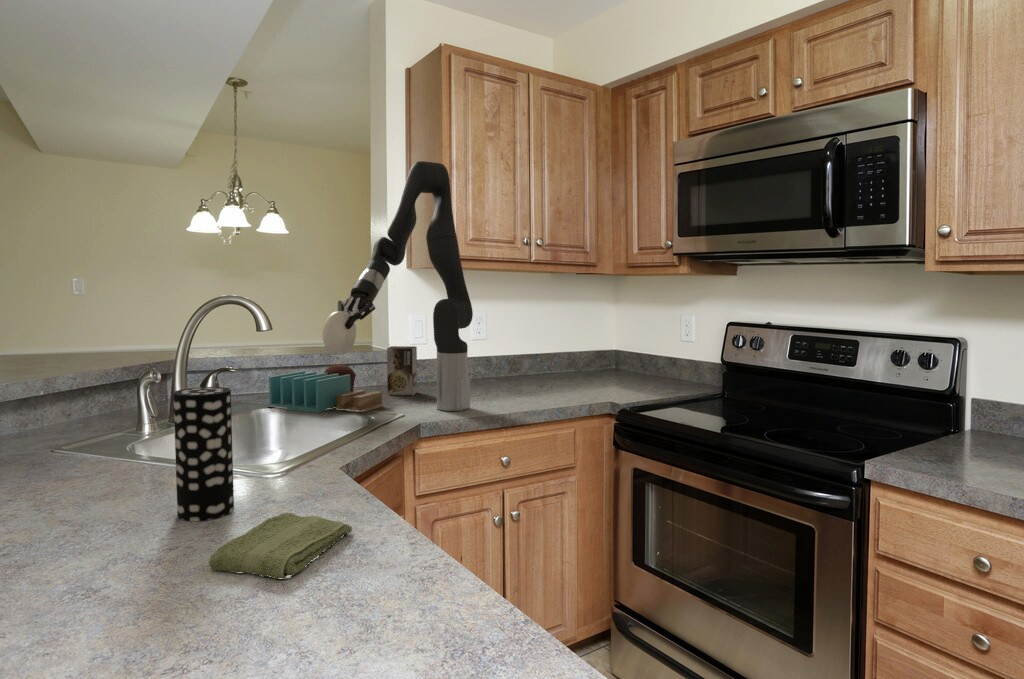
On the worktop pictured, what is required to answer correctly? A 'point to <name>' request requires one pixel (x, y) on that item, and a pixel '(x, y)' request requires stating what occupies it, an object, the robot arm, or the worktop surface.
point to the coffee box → (402, 370)
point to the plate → (338, 333)
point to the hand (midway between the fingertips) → (343, 327)
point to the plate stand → (359, 400)
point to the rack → (307, 390)
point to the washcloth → (279, 545)
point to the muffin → (342, 373)
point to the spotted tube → (203, 453)
